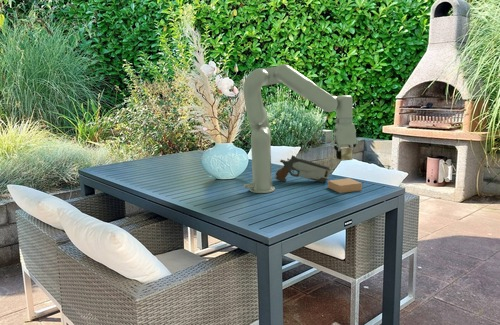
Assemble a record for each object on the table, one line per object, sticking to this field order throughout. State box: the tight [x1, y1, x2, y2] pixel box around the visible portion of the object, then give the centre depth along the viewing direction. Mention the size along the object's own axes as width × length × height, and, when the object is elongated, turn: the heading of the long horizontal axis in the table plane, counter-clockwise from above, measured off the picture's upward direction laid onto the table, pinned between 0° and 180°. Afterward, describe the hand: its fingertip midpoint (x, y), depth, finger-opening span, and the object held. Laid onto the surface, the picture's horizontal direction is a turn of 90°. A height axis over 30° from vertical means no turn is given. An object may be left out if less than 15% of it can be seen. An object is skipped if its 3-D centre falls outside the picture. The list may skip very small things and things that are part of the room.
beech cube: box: [337, 146, 354, 161], centre depth 209 cm, size 6×6×6 cm
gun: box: [274, 155, 331, 184], centre depth 230 cm, size 5×27×15 cm, turn 79°
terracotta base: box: [327, 177, 363, 194], centre depth 212 cm, size 12×12×4 cm
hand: (344, 157), depth 209 cm, fingers closed on beech cube, 5 cm apart
